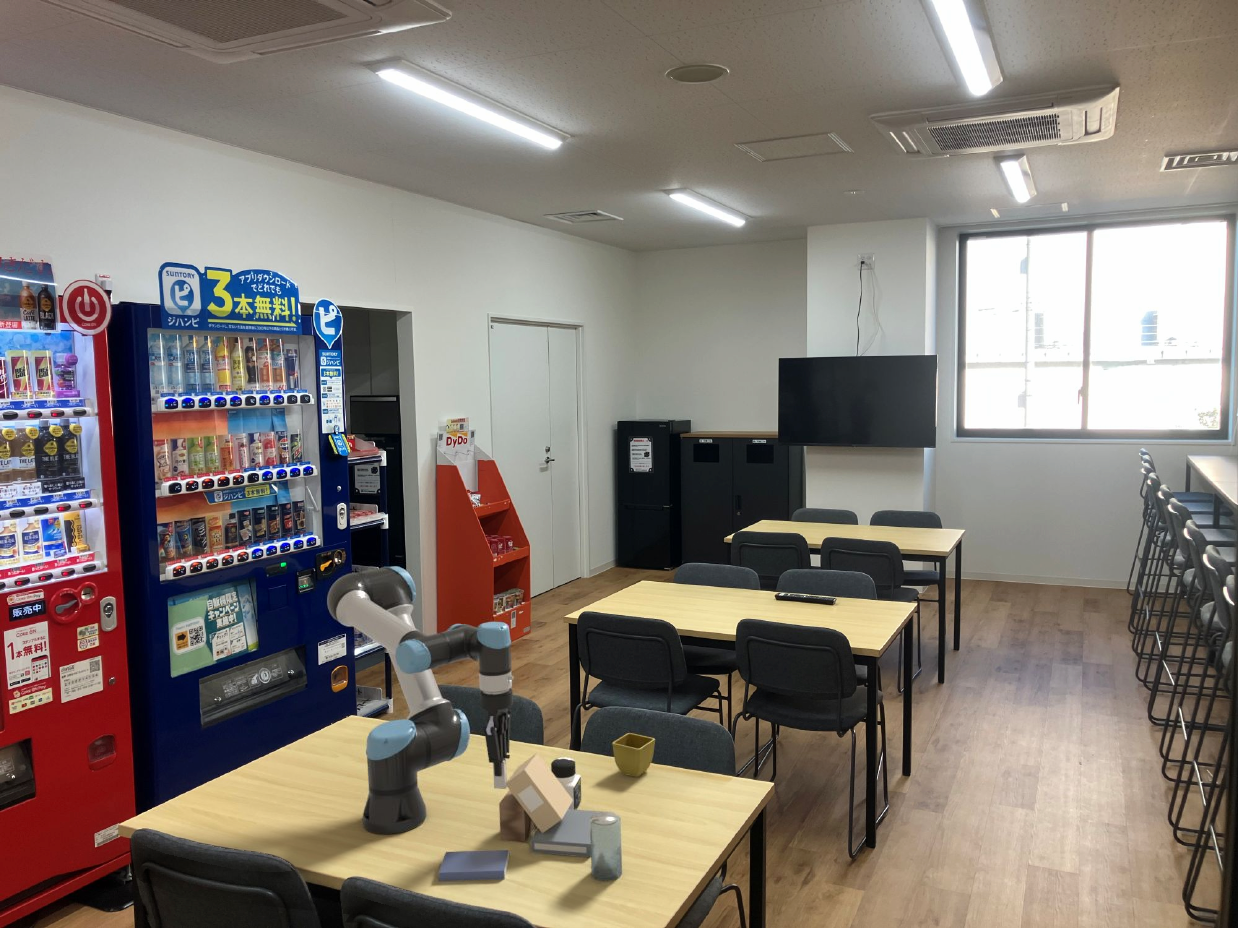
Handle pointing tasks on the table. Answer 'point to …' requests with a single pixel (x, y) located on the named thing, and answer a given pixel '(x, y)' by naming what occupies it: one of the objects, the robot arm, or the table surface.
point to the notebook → (474, 865)
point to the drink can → (606, 846)
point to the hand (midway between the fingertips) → (500, 787)
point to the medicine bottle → (568, 779)
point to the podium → (566, 835)
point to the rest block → (514, 820)
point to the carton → (539, 792)
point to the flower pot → (633, 753)
